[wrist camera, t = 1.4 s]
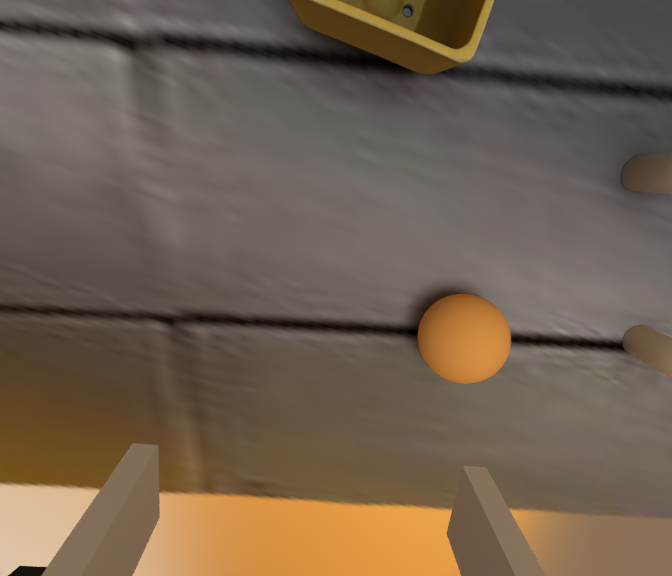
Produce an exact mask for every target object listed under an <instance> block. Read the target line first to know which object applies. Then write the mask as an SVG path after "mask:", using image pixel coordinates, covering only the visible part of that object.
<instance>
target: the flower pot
mask: <svg viewBox="0 0 672 576" xmlns="http://www.w3.org/2000/svg"><path fill="white" fill-rule="evenodd" d="M289 2H290V3H291V5H292V7H293V9H294V11H295V13H296V15H297V16H298V18H299V19H300V20H301V22H303V23H304V24H305V25H306V26H307V27H309V28H311V29H312V30H314V31H317V32H319V33H322V34H324V35H327V36H329V37H332V38H335V39H337V40H340V41H342V42H345V43H347V44H350V45H352V46H355V47H357V48H360V49H362V50H365V51H367V52H369V53H372V54H374V55H377V56H379V57H382V58H384V59H386V60H389V61H391V62H393V63H396V64H398V65H401V66H403V67H405V68H407V69H409V70H412V71H414V72H417V73H420V74H425V75H431V74H435V73H438V72H441V71H444V70H447V69H449V68H452V67H455V66H457V65H460V64H462V63H465V62H467V61H469V60H470V59H471V58H472V57H473V55H474V54H475V51H476V49H477V46H478V44H479V41H480V39H481V36H482V33H483V31H484V28H485V25H486V22H487V19H488V17H489V14H490V11H491V8H492V5H493V3H494V0H289ZM406 6H409V7H410V8H411V9H412V14H411V15H410V16H408V17H407V16H405V15H404V14H403V9H404V7H406Z"/></svg>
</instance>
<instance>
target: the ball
mask: <svg viewBox="0 0 672 576" xmlns="http://www.w3.org/2000/svg"><path fill="white" fill-rule="evenodd" d="M418 345H419V349H420V352H421V355H422V357H423V359H424V360H425V362H426V363H427V365H428V366H429V367H430V368H431V369H432V370H433V371H434V372H435V373H437V374H438V375H439V376H441V377H443V378H445V379H447V380H449V381H453V382H457V383H475V382H479V381H482V380H485V379H487V378H489V377H490V376H492V375H493V374H495V373H496V372H497V371H498V370H499V369H500V368H501V367H502V365H503V364H504V362H505V361H506V359H507V357H508V354H509V351H510V345H511V335H510V330H509V326H508V324H507V321H506V319H505V318H504V316H503V314H502V313H501V312H500V311H499V310H498V309H497V308H496V307H495V306H494V305H493V304H492V303H490V302H489V301H487V300H485V299H483V298H481V297H478V296H475V295H470V294H454V295H450V296H447V297H444V298H442V299H440V300H438V301H437V302H435V303H434V304H433V305H432V306H430V308H429V309H428V310H427V311H426V312H425V314H424V315H423V317H422V319H421V322H420V325H419V329H418Z"/></svg>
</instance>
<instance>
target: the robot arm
mask: <svg viewBox="0 0 672 576" xmlns="http://www.w3.org/2000/svg"><path fill="white" fill-rule="evenodd" d="M158 519H159V448H158V445H150V444H136V443H133V444H132V445H131V446H130V448H129V449H128V451H127V452H126V454H125V455H124V457H123V458H122V459H121V461H120V462H119V464H118V465H117V467H116V468H115V470H114V471H113V473H112V474H111V475H110V477H109V478H108V480H107V481H106V483H105V484H104V486H103V487H102V488H101V490H100V491H99V493H98V494H97V496H96V497H95V499H94V500H93V502H92V503H91V505H90V506H89V507H88V509H87V510H86V512H85V513H84V515H83V516H82V518H81V519H80V520H79V522H78V523H77V525H76V526H75V528H74V529H73V531H72V532H71V534H70V535H69V536H68V538H67V539H66V541H65V542H64V544H63V545H62V547H61V548H60V549H59V551H58V552H57V554H56V555H55V557H54V558H53V560H52V561H51V562H50V564H49V566H48V567H30V566H19V567H18V568H17V569H16V570H14V571H13V572H12V573H11V574H10V575H8V576H132V575H133V573H134V571H135V569H136V566H137V564H138V562H139V560H140V558H141V556H142V553H143V551H144V549H145V547H146V545H147V543H148V541H149V538H150V536H151V534H152V532H153V530H154V528H155V526H156V524H157V521H158ZM447 536H448V539H449V541H450V544H451V547H452V550H453V553H454V556H455V559H456V562H457V565H458V568H459V570H460V573H461V576H546V575H545V573H544V571H543V570H542V568H541V566H540V564H539V562H538V561H537V559H536V557H535V555H534V553H533V551H532V550H531V548H530V546H529V544H528V543H527V541H526V539H525V537H524V535H523V533H522V532H521V530H520V528H519V526H518V524H517V523H516V521H515V519H514V517H513V516H512V514H511V512H510V510H509V508H508V506H507V505H506V503H505V501H504V499H503V497H502V496H501V494H500V492H499V490H498V488H497V487H496V485H495V483H494V481H493V479H492V478H491V476H490V474H489V472H488V470H487V469H486V467H472V466H463V467H462V471H461V475H460V480H459V484H458V488H457V492H456V496H455V501H454V505H453V509H452V514H451V518H450V522H449V526H448V530H447Z"/></svg>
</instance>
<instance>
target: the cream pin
mask: <svg viewBox="0 0 672 576" xmlns="http://www.w3.org/2000/svg"><path fill="white" fill-rule="evenodd" d="M623 347H624V349H625V350H626V351H627V352H628V353H630V354H632V355H633V356H635V357H637V358H638V359H640V360H642V361H643V362H645V363H647V364H648V365H650V366H652V367H654V368H655V369H657V370H659V371H660V372H662V373H664V374H665V375H667V376H669V377H670V378H672V338H670V337H668V336H666V335H664V334H662V333H660V332H658V331H655V330H653V329H651V328H649V327H647V326H643V325H640V326H635V327H633V328H631V329H630V330H629V331H628V332H627V333H626V334H625V336H624V338H623Z"/></svg>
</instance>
